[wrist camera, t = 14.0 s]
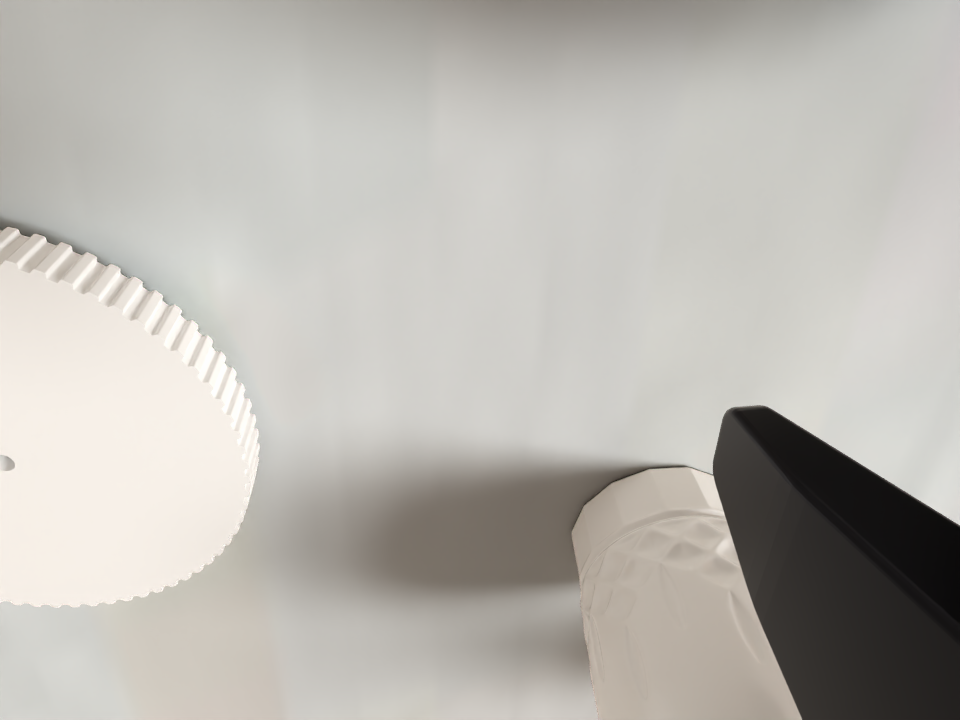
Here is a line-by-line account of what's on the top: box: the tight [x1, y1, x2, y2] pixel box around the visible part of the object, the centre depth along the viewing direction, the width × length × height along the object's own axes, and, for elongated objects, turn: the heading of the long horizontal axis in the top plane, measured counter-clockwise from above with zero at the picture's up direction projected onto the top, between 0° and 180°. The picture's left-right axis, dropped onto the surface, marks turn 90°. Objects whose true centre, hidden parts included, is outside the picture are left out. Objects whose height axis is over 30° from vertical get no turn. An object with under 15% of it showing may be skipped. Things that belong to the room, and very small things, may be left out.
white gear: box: [0, 227, 260, 608], centre depth 21 cm, size 14×14×2 cm
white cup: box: [571, 467, 802, 720], centre depth 23 cm, size 8×8×10 cm
